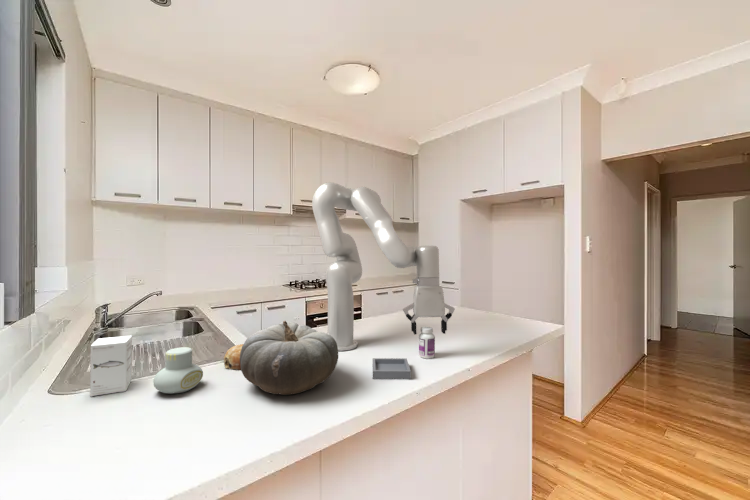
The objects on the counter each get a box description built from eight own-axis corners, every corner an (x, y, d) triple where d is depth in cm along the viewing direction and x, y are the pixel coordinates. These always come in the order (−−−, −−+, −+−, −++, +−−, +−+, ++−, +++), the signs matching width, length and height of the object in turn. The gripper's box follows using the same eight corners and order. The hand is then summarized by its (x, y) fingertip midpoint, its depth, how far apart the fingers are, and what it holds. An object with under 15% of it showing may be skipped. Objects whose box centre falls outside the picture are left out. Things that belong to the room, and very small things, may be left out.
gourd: (281, 352, 107) (285, 300, 104) (350, 376, 98) (357, 321, 95) (218, 391, 84) (221, 326, 81) (301, 427, 75) (308, 357, 72)
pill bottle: (434, 354, 114) (434, 326, 114) (435, 359, 109) (435, 330, 109) (418, 353, 115) (418, 325, 115) (418, 358, 110) (419, 329, 110)
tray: (372, 379, 92) (372, 371, 92) (372, 365, 103) (372, 358, 103) (410, 379, 93) (410, 371, 93) (406, 365, 103) (406, 358, 103)
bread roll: (221, 377, 102) (211, 357, 99) (243, 353, 111) (235, 334, 108) (246, 382, 98) (237, 361, 95) (268, 357, 107) (260, 337, 104)
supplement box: (89, 397, 80) (88, 345, 80) (97, 386, 86) (97, 337, 86) (126, 391, 83) (126, 341, 83) (132, 380, 90) (132, 334, 90)
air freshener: (172, 401, 79) (172, 359, 79) (146, 396, 81) (146, 355, 81) (208, 382, 89) (208, 345, 89) (184, 378, 92) (184, 342, 91)
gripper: (403, 284, 108) (404, 336, 108) (456, 282, 108) (457, 335, 108) (401, 281, 115) (402, 331, 115) (451, 280, 115) (452, 329, 116)
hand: (429, 333), depth 112 cm, fingers open, 9 cm apart
